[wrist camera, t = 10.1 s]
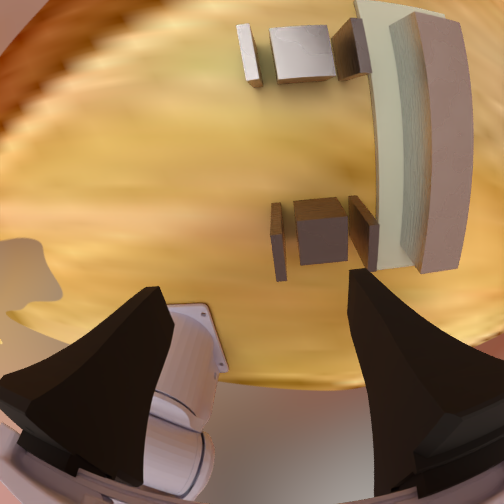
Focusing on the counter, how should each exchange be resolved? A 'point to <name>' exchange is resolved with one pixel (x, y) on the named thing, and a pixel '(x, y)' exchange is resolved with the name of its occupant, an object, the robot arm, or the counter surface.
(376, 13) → the mat
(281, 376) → the counter surface
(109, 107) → the counter surface
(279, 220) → the brown boxy piece
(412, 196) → the rail
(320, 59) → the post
